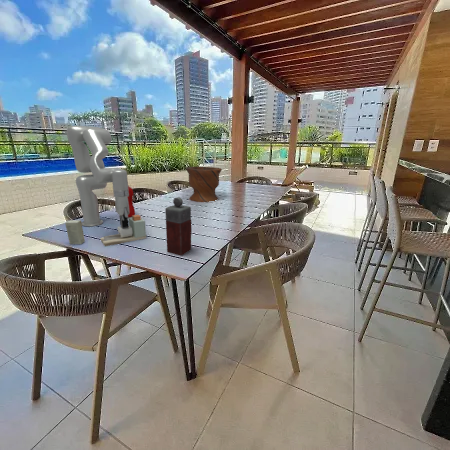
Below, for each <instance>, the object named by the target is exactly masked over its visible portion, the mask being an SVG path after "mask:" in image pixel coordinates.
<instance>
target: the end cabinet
mask: <svg viewBox="0 0 450 450" xmlns="http://www.w3.org/2000/svg"><path fill="white" fill-rule="evenodd" d="M128 224H129V226H130V227H131V228H132V231H133V234H132V235H133V236H134V237H135V238H137V237H142V236H146V237H147V234H146V233H147V230H146V221H145V219H143V218H142V217H141V220H137V221H133V220H132V217H129V218H128Z"/></svg>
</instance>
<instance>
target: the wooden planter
mask: <svg viewBox="0 0 450 450" xmlns="http://www.w3.org/2000/svg"><path fill="white" fill-rule="evenodd" d="M185 170H186V172H187V173H188V185H189V186H190V187H191V188H192V189H193V194H192V195H191V196H189V198H188V199H189V201H191V202H195V203H210V202H209V201H214V202H216V201H215V200H217V199H218V200H219V197H218V196H217V195H216V189H217V188H218V187H219V185H220V174H221V172H222V170H223V169H222V168H221V167H214V166H212V167H211V166H188V167H185ZM218 200H217V201H218Z"/></svg>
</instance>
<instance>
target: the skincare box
mask: <svg viewBox="0 0 450 450" xmlns="http://www.w3.org/2000/svg"><path fill="white" fill-rule="evenodd" d="M64 224H65V228H66V233H67V237H68V238H67V239H68V242H69V244H70V245H83V243H85V241H86V239H85V233H84V228H83V225H82V220H81V219H78V220H77V219H76V220H73V219H72V220H71V219H70V220H68V221H66V222H64Z"/></svg>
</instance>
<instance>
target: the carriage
mask: <svg viewBox="0 0 450 450" xmlns="http://www.w3.org/2000/svg"><path fill="white" fill-rule="evenodd" d="M123 217H124V216H123ZM120 221H121V225H119V226H117V232H118V234H120V236H121V238H123V237H128V236H132V234H133V231H132V228H131V227H130V226H128V227H122V216H119V222H120Z"/></svg>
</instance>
